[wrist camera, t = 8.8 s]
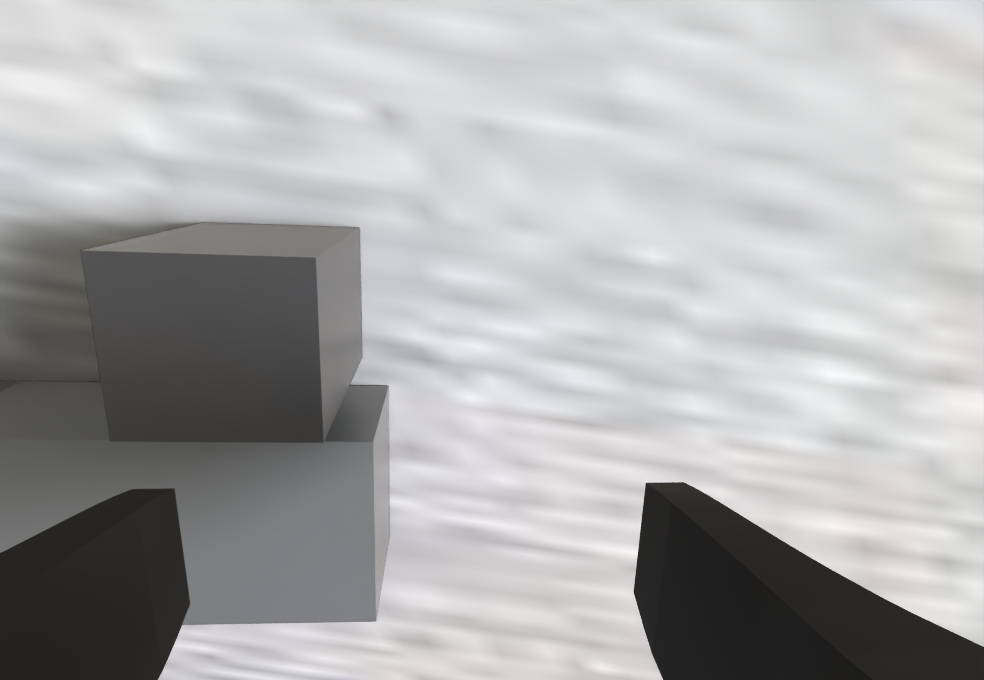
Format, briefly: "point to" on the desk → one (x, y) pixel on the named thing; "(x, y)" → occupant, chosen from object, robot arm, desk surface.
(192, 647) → the desk surface
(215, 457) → the grey slotted block
